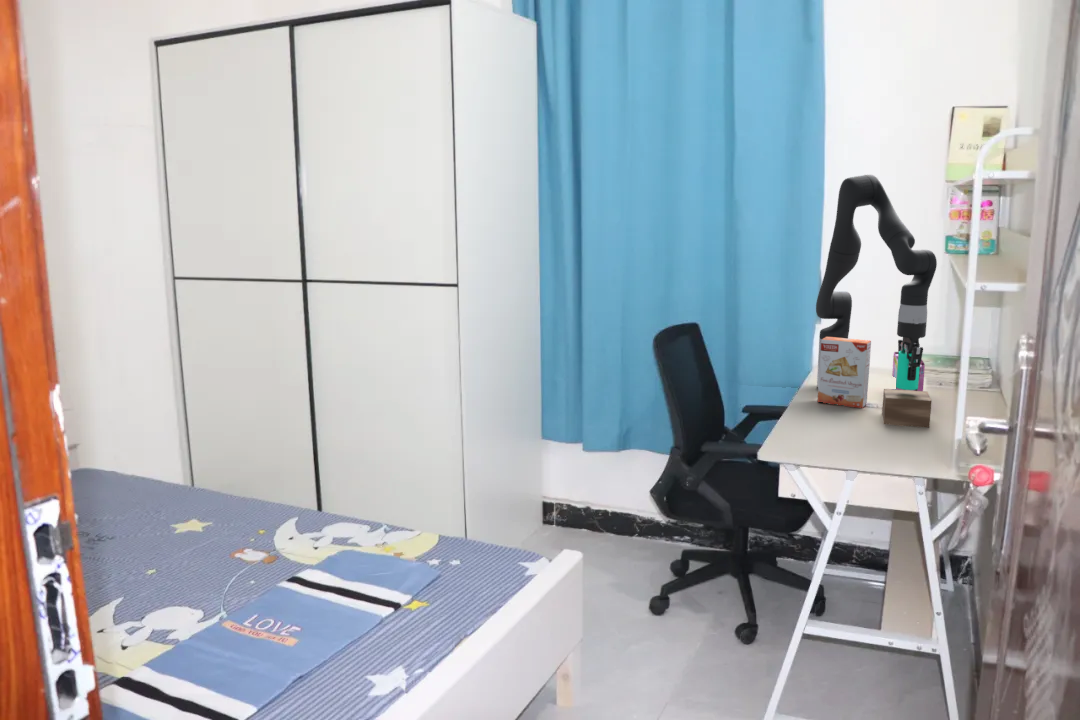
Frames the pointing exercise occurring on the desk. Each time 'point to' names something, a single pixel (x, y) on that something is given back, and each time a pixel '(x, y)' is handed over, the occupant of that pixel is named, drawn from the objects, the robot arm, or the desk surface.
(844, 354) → the cracker box
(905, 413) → the walnut block
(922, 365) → the gum box
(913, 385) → the candle
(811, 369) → the desk surface
